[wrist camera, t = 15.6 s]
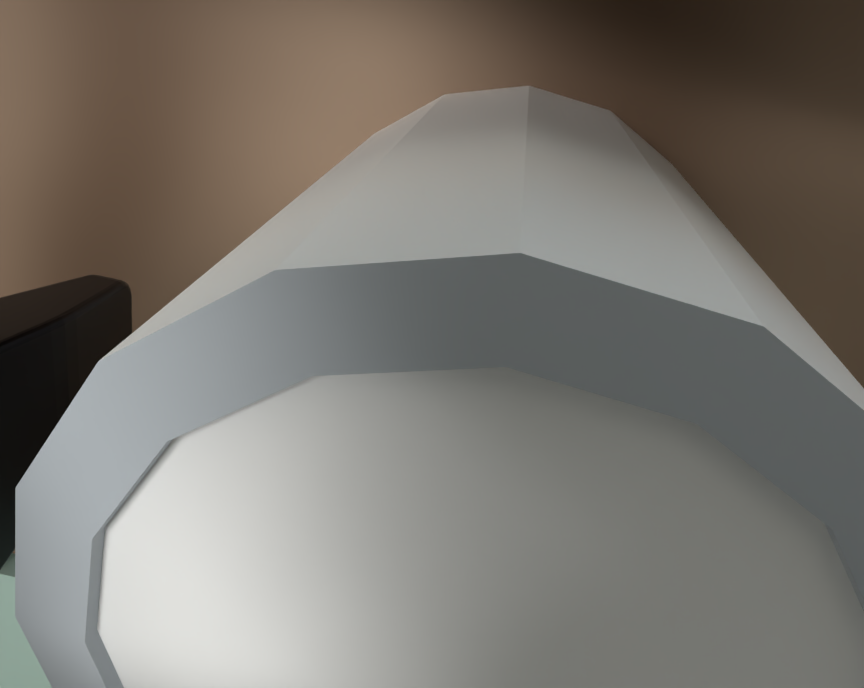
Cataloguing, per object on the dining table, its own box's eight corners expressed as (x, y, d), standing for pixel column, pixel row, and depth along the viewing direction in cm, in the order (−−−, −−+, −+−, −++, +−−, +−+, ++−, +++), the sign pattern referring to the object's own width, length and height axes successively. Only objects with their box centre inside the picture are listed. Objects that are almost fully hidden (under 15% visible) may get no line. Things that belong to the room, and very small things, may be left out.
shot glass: (582, 530, 14) (609, 1022, 8) (214, 355, 13) (-70, 759, 7) (863, 194, 11) (1276, 607, 5) (391, -72, 10) (141, 8, 4)
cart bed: (-4, 455, 18) (-245, 712, 13) (-102, -336, 11) (-754, -549, 6) (875, 649, 18) (1024, 998, 12) (1352, -34, 11) (2205, 64, 5)
